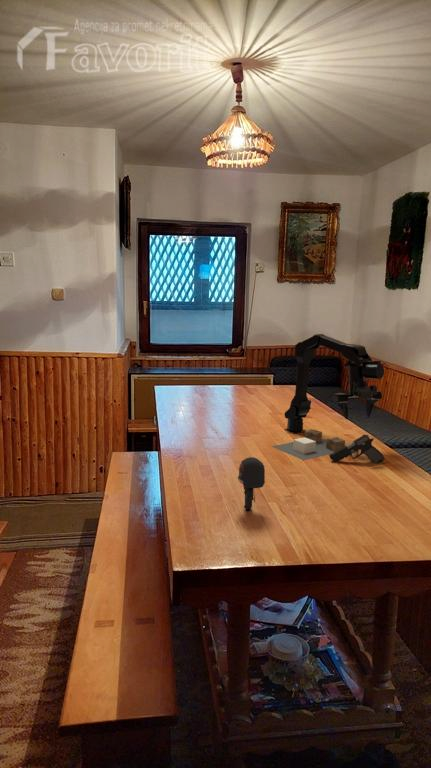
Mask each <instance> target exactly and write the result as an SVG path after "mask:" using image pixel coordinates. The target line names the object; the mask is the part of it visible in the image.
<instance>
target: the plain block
mask: <svg viewBox="0 0 431 768" xmlns="http://www.w3.org/2000/svg"><path fill="white" fill-rule="evenodd" d="M292 442H293V450H295V451H298V452H300V453H303V454H306V453H310V452H315V447H316V441H313V440H311V439H308V438H305V436H304V437H299V438H295V439H293V440H292Z"/></svg>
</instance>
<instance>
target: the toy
mask: <svg viewBox="0 0 431 768" xmlns="http://www.w3.org/2000/svg"><path fill="white" fill-rule="evenodd" d="M265 471H266V469H265V464H264V463H263V462H262V461H261V460H260V459H259V458H257V457H254V456H253V457H252V456H249V457H246V458H244V459H243V460H241V463H240V464H239V467H238V476H237V480H238V482H239V483H240V484H241V485H242V487H243V494H244V508H245V509H244V511H245V512H250V511H251V509H252V508H253V501H254V503H256V494H255V489H260V488H263V487H264V486H265V483H266V481H265V479H266V478H265V477H266V476H265V473H266V472H265Z"/></svg>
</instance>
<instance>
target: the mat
mask: <svg viewBox="0 0 431 768" xmlns="http://www.w3.org/2000/svg"><path fill="white" fill-rule="evenodd" d="M326 442H327V439H325V438H322V441H321V442H318V443H316V447H315V452H310V453H306V454H303V453H300V452H298V451H295V450H293V441H291V442H287V443H281V444H276V445H272V446H271V448H274V449H277V450H278V451H280V452H283V453H285V454H287V455H290V456H293V457H294V458H297V459H300V460H302V461H307V460H311V459H315V458H319V457H324V456H329V455H330V454H332V453H334V452H333V451H331V450H329V449H327V448H326Z"/></svg>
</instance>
